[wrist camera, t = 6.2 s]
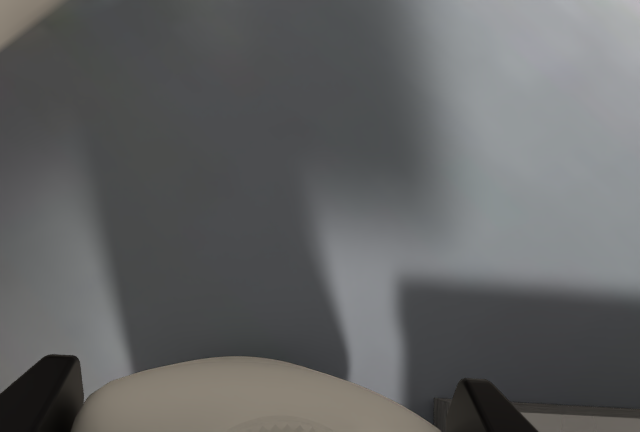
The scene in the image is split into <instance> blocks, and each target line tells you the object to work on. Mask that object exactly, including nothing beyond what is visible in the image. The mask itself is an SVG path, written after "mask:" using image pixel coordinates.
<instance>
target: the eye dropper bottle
mask: <svg viewBox="0 0 640 432" xmlns="http://www.w3.org/2000/svg"><path fill="white" fill-rule="evenodd" d="M71 432H442V431H440V430H439V429H438V428H437V427H435V426H434V425H432V424H431V423H429V422H428V421H426V420H425V419H423V418H422V417H420V416H419V415H417V414H415V413H414V412H412V411H410V410H409V409H407V408H405V407H404V406H402V405H400V404H398V403H396V402H394V401H392V400H390V399H388V398H386V397H384V396H382V395H380V394H378V393H376V392H374V391H371V390H369V389H367V388H364V387H362V386H360V385H357V384H354V383H351V382H348V381H346V380H343V379H340V378H337V377H334V376H331V375H328V374H325V373H322V372H319V371H316V370H312V369H309V368H306V367H303V366H299V365H296V364H292V363H288V362H284V361H279V360H274V359H267V358H260V357H247V356H227V357H213V358H205V359H198V360H192V361H187V362H181V363H177V364H172V365H167V366H162V367H158V368H153V369H149V370H145V371H141V372H138V373H135V374H132V375H129V376H125V377H122V378H119V379H116V380H113V381H110V382H109V383H107V384H106V385H104V386H103V387H101V388H100V389H98V390H97V391H95V392H94V393H92V394H91V395H90V396H89V397H88V398H87V399H86V401H85V403H84V404H83V406H82V407H81V409H80V411H79V412H78V414H77V415H76V417H75V420H74V423H73V426H72V429H71Z"/></svg>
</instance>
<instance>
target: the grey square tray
mask: <svg viewBox="0 0 640 432" xmlns="http://www.w3.org/2000/svg"><path fill="white" fill-rule="evenodd" d="M451 401H452V399H445V398H434V426H435V427H437V428H438V429H439V430H440V431H442V432H446V417H447V412H448V410H449V407H450V404H451ZM511 403H512V404H513V405H514V406H515V407H516V409H517V410H518V411H519V412H520V413H521V414H522V415H523V416H524V417H525V418H526V419H527V420H528V421H529V422H530V423H531V424H532V425H533V426H534V427H535V428H536V429H537V430H538V431H539V432H640V409H631V408H613V407H594V406H575V405H557V404H538V403H519V402H511Z"/></svg>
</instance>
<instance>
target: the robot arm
mask: <svg viewBox="0 0 640 432" xmlns="http://www.w3.org/2000/svg"><path fill="white" fill-rule="evenodd" d="M83 403H84V393H83V384H82V375H81V367H80V361H79V359H78V358H77V357H76V356H73V355H56V354H50V355H47V356H45V357H43V358H42V359H41V360H40V361H38V362H37V363H36V364H35V365H34V366H32V367H31V368H30V369H29V370H28V371H27V372H25V373H24V374H23V375H22V376H21V377H20V378H18V379H17V380H16V381H15V382H14V383H12V384H11V385H10V386H9V387H8V388H7V389H5V390H4V391H3V392H2V393H1V394H0V432H71V429H72V426H73V423H74V420H75V417H76V415H77V414H78V412H79V411H80V409H81V407H82V406H83ZM446 432H539V431H538V430H537V429H536V428H535V427H534V426H533V425H532V424H531V423H530V422H529V421H528V420H527V419H526V418H525V417H524V416H523V415H522V414H521V413H520V412H519V411H518V410H517V409H516V407H515V406H514V405H513V404H512V403H511V402H510V401H509V400H508V399H507V398H506V397H505V396H504V395H503V394H502V393H501V392H500V391H499V390H498V389H497V388H496V387H495V386H494V385H493V384H492V383H491V382H490V381H488V380H486V379H473V378H464V379H461V380H460V381H459V383H458V385H457V388H456V390H455V393H454V396H453V399H452V401H451V404H450V407H449V410H448V412H447V417H446Z"/></svg>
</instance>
